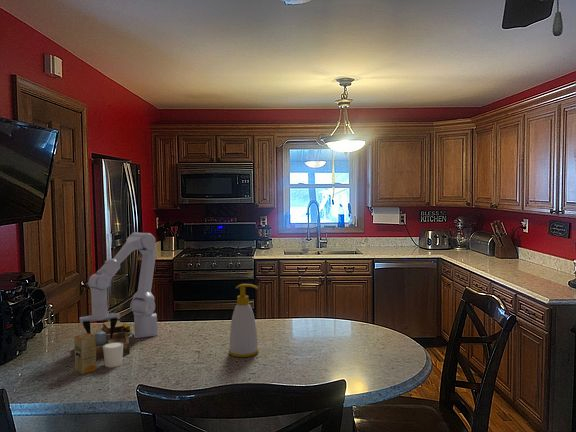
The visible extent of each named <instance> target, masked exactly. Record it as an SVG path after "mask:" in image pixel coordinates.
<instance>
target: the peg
mask: <svg viewBox="0 0 576 432" xmlns="http://www.w3.org/2000/svg"><path fill="white" fill-rule="evenodd" d="M94 335H95V340H96V346H101V345H105V344H106V332H103V331H98V332H95V333H94Z"/></svg>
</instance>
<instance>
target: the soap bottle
mask: <svg viewBox="0 0 576 432" xmlns="http://www.w3.org/2000/svg"><path fill="white" fill-rule="evenodd" d="M246 287H247V288H248V287H250V288H254V289H255V290H258V289H259V287H258V286H257V285H256V284H253V283H240V284H238V285H237V286H235V289H239V295H237V297H236V298H237V299H236V305H235V307H234V309H233V312H232V317H231V323H230V324H231V325H230V330H229V331H230V333H229V350H228V354H229V355H230V356H232V357H236V358H249V357H253V356H255V355H257V354H258V353H259V348H258V334H257V325H256V319H255V315H254V311H253V309H252V305H250V300H249V298H250V297H249V295H247V294H246Z"/></svg>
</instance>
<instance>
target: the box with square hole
mask: <svg viewBox="0 0 576 432" xmlns="http://www.w3.org/2000/svg"><path fill="white" fill-rule="evenodd" d="M113 342H120V343H123V356H124V355H130V353H131V351H130V340H129V335H127V332H120V333H113V336H112V338H110V334H106V344H108V343H113ZM103 346H104V345H101V346H96V359H101V358H104V353H103Z"/></svg>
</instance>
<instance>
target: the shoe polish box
mask: <svg viewBox="0 0 576 432" xmlns="http://www.w3.org/2000/svg"><path fill="white" fill-rule="evenodd" d="M73 338H74V340H73V341H74V343H73V344H74V366H75V367H74V369H75V372H77V373H79V374H81V375H84V374H88V373H91V372H94V371H97V358H96V340H95V334H90V333H87V332H86V333H83V334H78V335H75V336H73Z"/></svg>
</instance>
